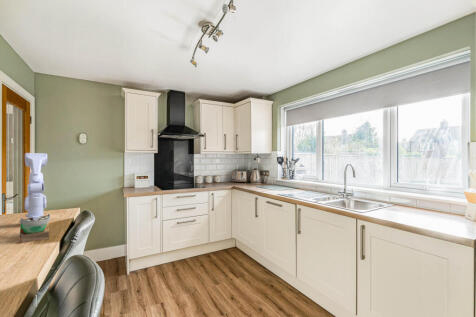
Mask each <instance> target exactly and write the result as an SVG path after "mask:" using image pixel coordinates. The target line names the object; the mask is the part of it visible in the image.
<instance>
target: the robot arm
mask: <svg viewBox="0 0 476 317" xmlns="http://www.w3.org/2000/svg"><path fill="white" fill-rule="evenodd" d="M24 163H25V164H24V165H25V166H26V167H28V168H30V170H31V172H30V173H29V175H28V184H27V196H25V199H24V210H25V211H27V214H26V215H25V216H24V217H25V218H26V219H29V218H33V220H38V218H39V217H40V216H44V210H45V209H46V208H47V196H46V195H44V193H45V182H44V174H43V172H41V171H42V169H43V168H44V167H47V164H48V154H47V152H46V153H42V152H39V153H36V152H32V153H31V152H26V153H24Z"/></svg>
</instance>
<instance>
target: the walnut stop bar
mask: <svg viewBox="0 0 476 317" xmlns="http://www.w3.org/2000/svg"><path fill="white" fill-rule="evenodd" d="M20 238H21V239H20V240H21V241H20V242H21V244H25V243H31V242H36V241H41V240H42V241H43V240H47V239H49V238H50V231H49V230H44V232H39V233H33V234H27V235H22V236H21V237H20Z"/></svg>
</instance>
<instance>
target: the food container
mask: <svg viewBox="0 0 476 317" xmlns="http://www.w3.org/2000/svg"><path fill="white" fill-rule="evenodd" d="M50 221H51V216H50V213H48V214H47V215H43V216H40V217H39V218H38V220H33V218H29V219H27V218H23V217H21V219H19V223H20V227H19V228H20V230H19V237H20V238H21V236H22V235H27V234H33V233H39V232H45V231H46V230H45V229H46V227H47V225H48V223H49V222H50Z"/></svg>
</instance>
